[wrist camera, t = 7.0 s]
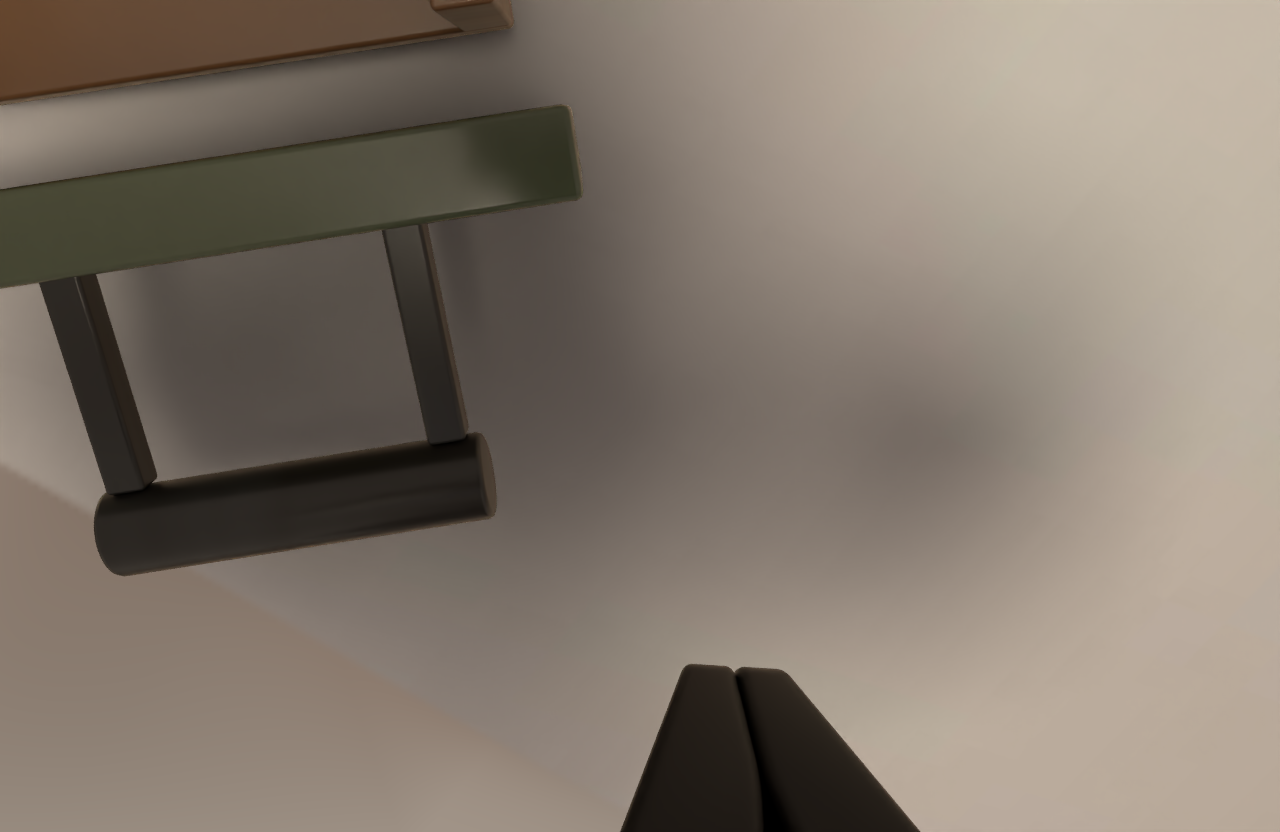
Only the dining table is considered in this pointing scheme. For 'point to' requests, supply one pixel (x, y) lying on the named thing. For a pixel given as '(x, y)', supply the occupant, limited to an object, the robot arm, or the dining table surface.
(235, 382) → the dining table surface
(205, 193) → the drawer
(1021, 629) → the dining table surface
